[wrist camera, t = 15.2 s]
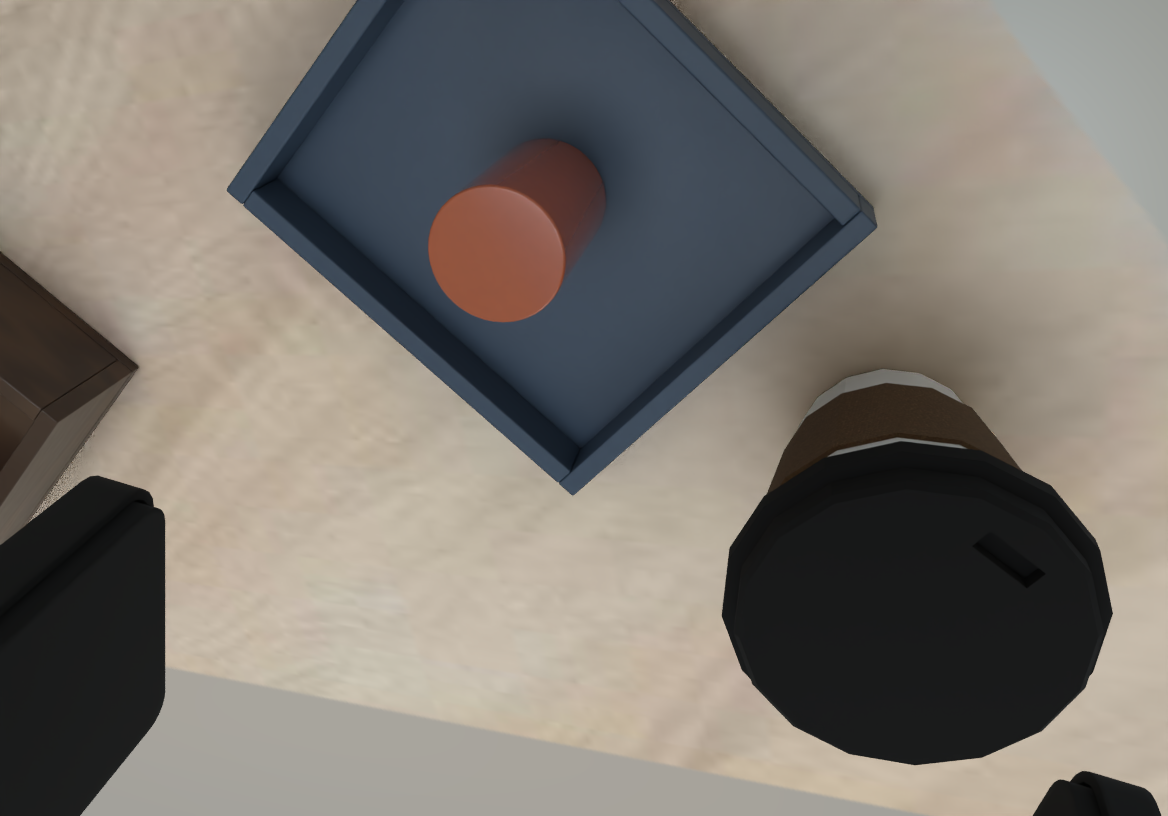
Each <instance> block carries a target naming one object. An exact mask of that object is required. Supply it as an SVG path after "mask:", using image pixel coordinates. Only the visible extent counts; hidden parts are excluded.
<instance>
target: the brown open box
mask: <svg viewBox="0 0 1168 816" xmlns="http://www.w3.org/2000/svg"><path fill="white" fill-rule="evenodd" d="M137 369H138V366H137V365H135V364H134V363H133V362H132V361H131V360H129V359H128V358H127V357H126V356H125V355H123V354H122V353H121V352H120V351H119V350H117V349H116V348H115V347H114V346H113V345H111V344H110V343H109V342H108V341H107V340H105V339H104V338H103V337H102V336H100V335H99V334H98V333H97V332H96V331H94V330H93V329H92V328H91V327H90V326H88V325H87V324H86V323H85V322H84V321H82V320H81V319H80V318H79V317H78V316H76V315H75V314H74V313H73V312H71V311H70V310H69V309H68V308H67V307H65V306H64V305H63V304H62V303H61V302H59V301H58V300H57V299H56V298H55V297H53V296H52V295H51V294H50V293H49V292H47V291H46V290H45V289H44V288H43V287H41V286H40V285H39V284H38V283H36V282H35V281H34V280H33V279H32V278H30V277H29V276H28V275H27V274H26V273H24V272H23V271H22V270H21V269H20V268H18V267H17V266H16V265H15V264H14V263H12V262H11V261H10V260H9V259H8V258H6V257H5V256H4V255H3V254H1V253H0V545H1V544H2V543H4V542H5V541H6V540H7V539H9V538H10V537H11V536H13V535H14V534H15V533H16V532H18V531H19V530H20V529H21V528H23V527H24V526H25V525H26V524H27V523H28V522H29V520H30V519H31V517H32V516H33V515H34V513H35V512H36V510H37V509H38V508H39V506H40V505H41V503H42V502H43V501H44V499H45V498H46V496H47V495H48V494H49V492H50V491H51V489H52V488H53V487H54V485H55V484H56V482H57V481H58V480H59V478H60V477H61V475H62V474H63V473H64V471H65V470H66V469H67V467H68V466H69V464H70V463H71V462H72V460H73V459H74V457H75V456H76V455H77V453H78V452H79V450H80V449H81V448H82V446H83V445H84V443H85V442H86V441H87V439H88V438H89V436H90V435H91V434H92V432H93V431H94V429H95V428H96V427H97V425H98V424H99V422H100V421H101V420H102V418H103V417H104V415H105V414H106V413H107V411H108V410H109V408H110V407H111V406H112V404H113V403H114V401H115V400H116V399H117V397H118V396H119V394H120V393H121V392H122V390H123V389H124V387H125V386H126V385H127V383H128V382H129V380H130V379H131V378H132V376H133V375H134V373H135V372H136V371H137Z"/></svg>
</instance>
